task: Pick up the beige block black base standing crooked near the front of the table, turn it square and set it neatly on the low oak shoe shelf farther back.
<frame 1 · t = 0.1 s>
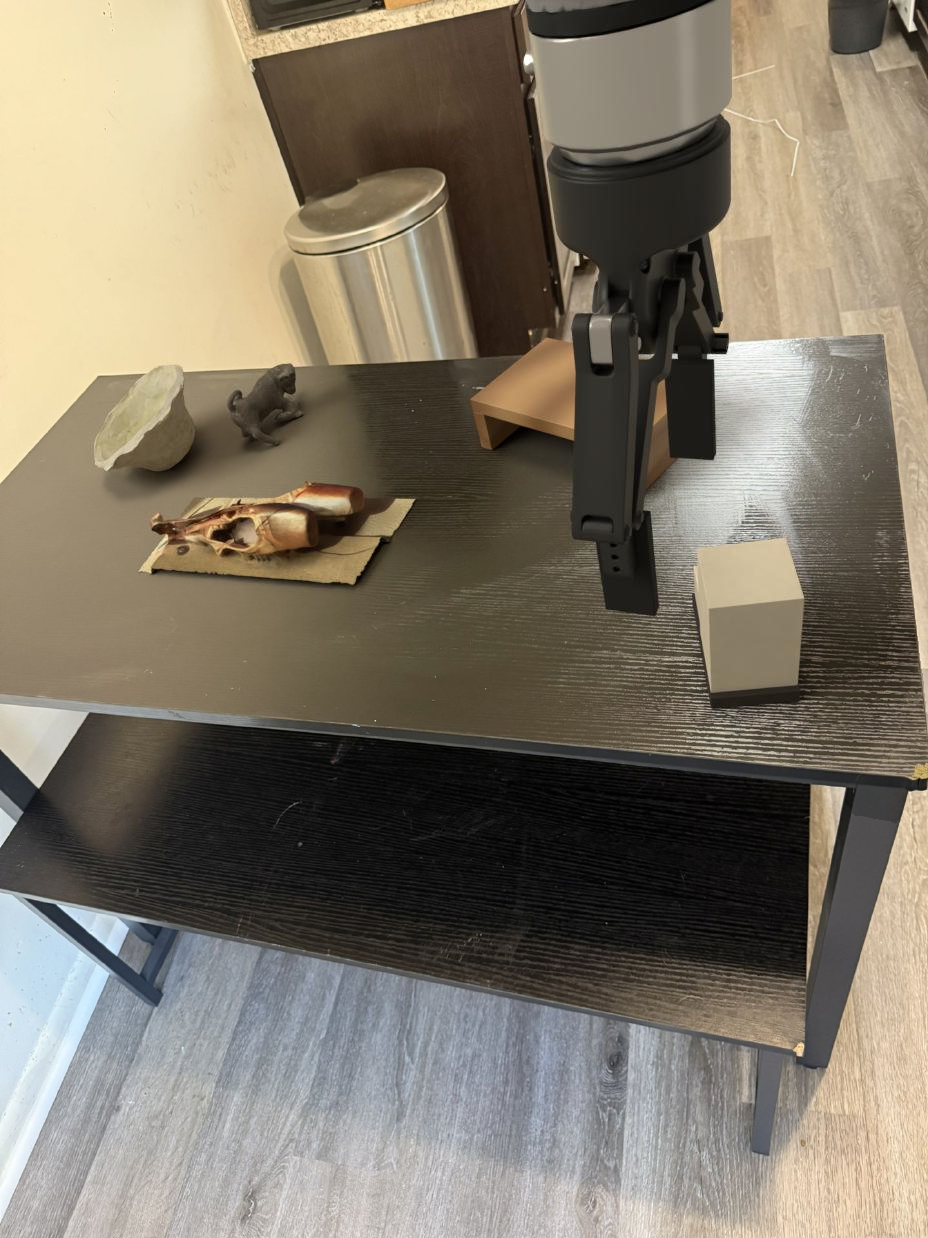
hand: (665, 526, 50), 19 cm above the table, tool pointing down, fingers open, 13 cm apart
dog figurine: (280, 425, 107), on the table
shoe shelf: (592, 436, 90), on the table
beige block black base: (746, 668, 65), on the table
bowl: (164, 462, 107), on the table
ballet pointe shoes: (273, 541, 90), on the table
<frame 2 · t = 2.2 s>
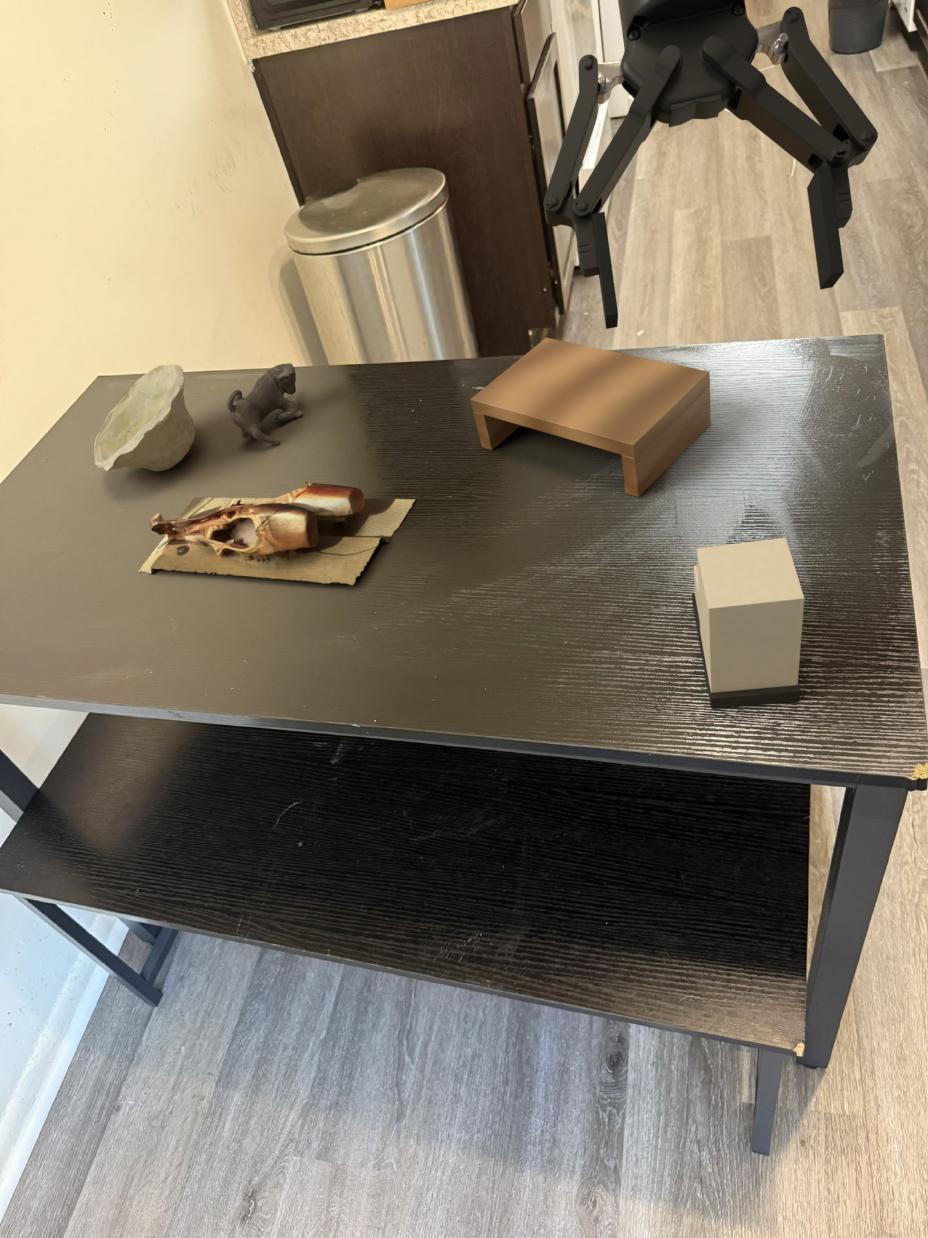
hand: (719, 302, 55), 25 cm above the table, tool tilted 45°, fingers open, 13 cm apart
nothing on the table moved.
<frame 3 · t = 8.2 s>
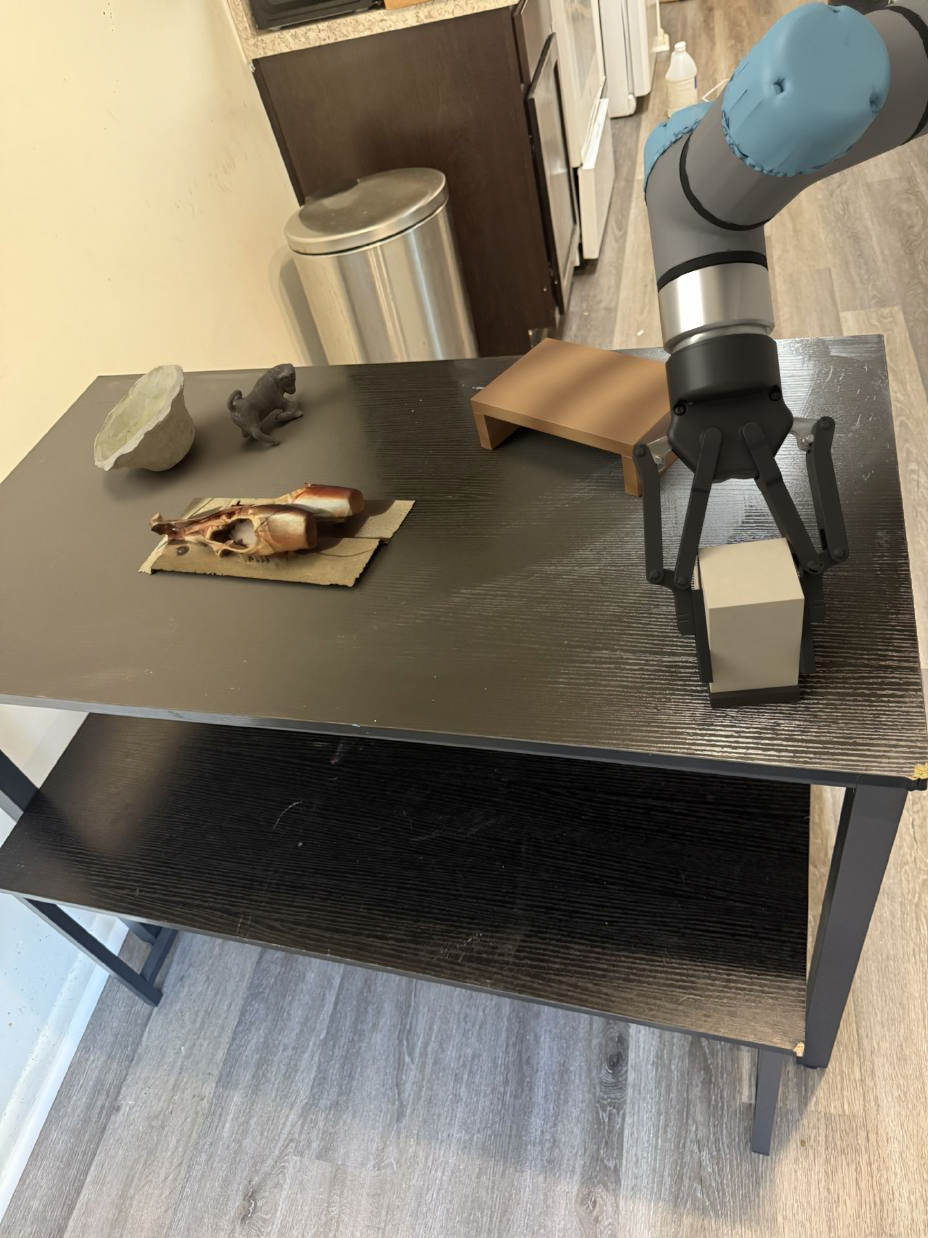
hand: (756, 676, 60), 3 cm above the table, tool tilted 45°, fingers closed on beige block black base, 6 cm apart
beige block black base: (746, 668, 65), on the table, touching gripper
everything else where it was.
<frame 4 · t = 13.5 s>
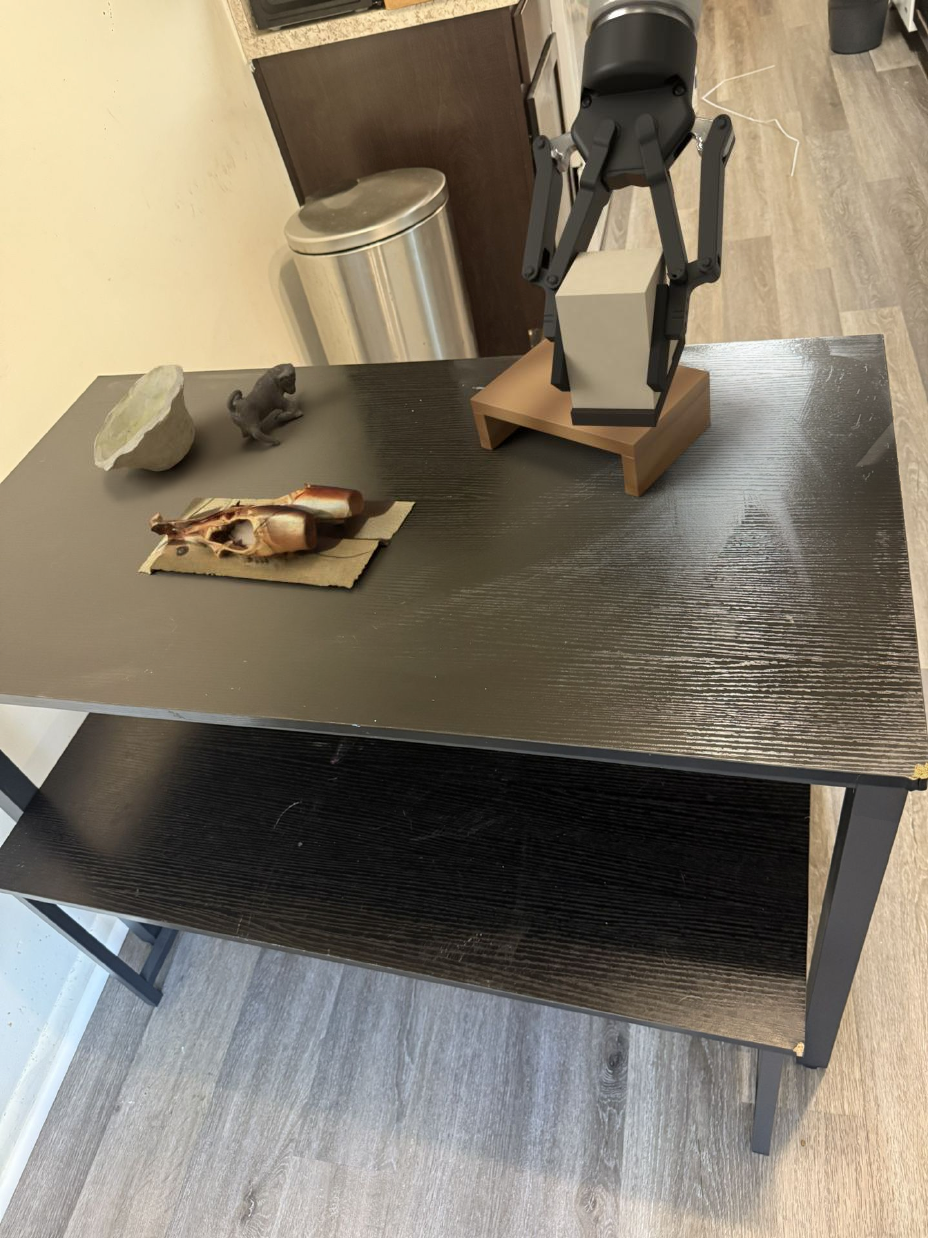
hand: (607, 387, 60), 20 cm above the table, tool tilted 45°, fingers closed on beige block black base, 6 cm apart
beige block black base: (624, 398, 65), point 16 cm above the table, touching gripper
everything else where it was.
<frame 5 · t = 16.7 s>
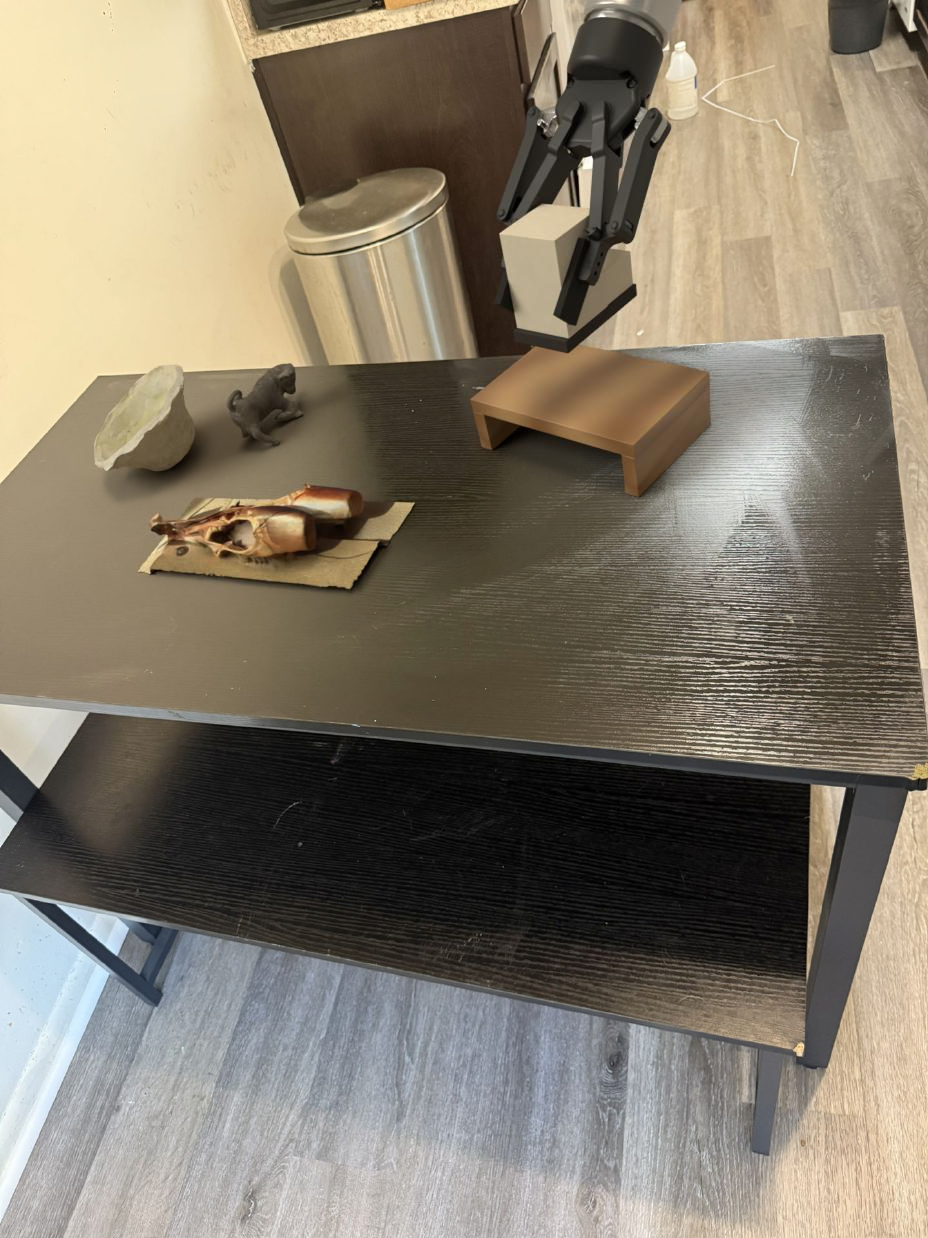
hand: (534, 314, 77), 17 cm above the table, tool tilted 45°, fingers closed on beige block black base, 6 cm apart
beige block black base: (564, 329, 81), point 13 cm above the table, touching gripper
everything else where it was.
when the fingers open (9 cm above the table, at t = 19.0 s): beige block black base stays where it is, resting on shoe shelf.
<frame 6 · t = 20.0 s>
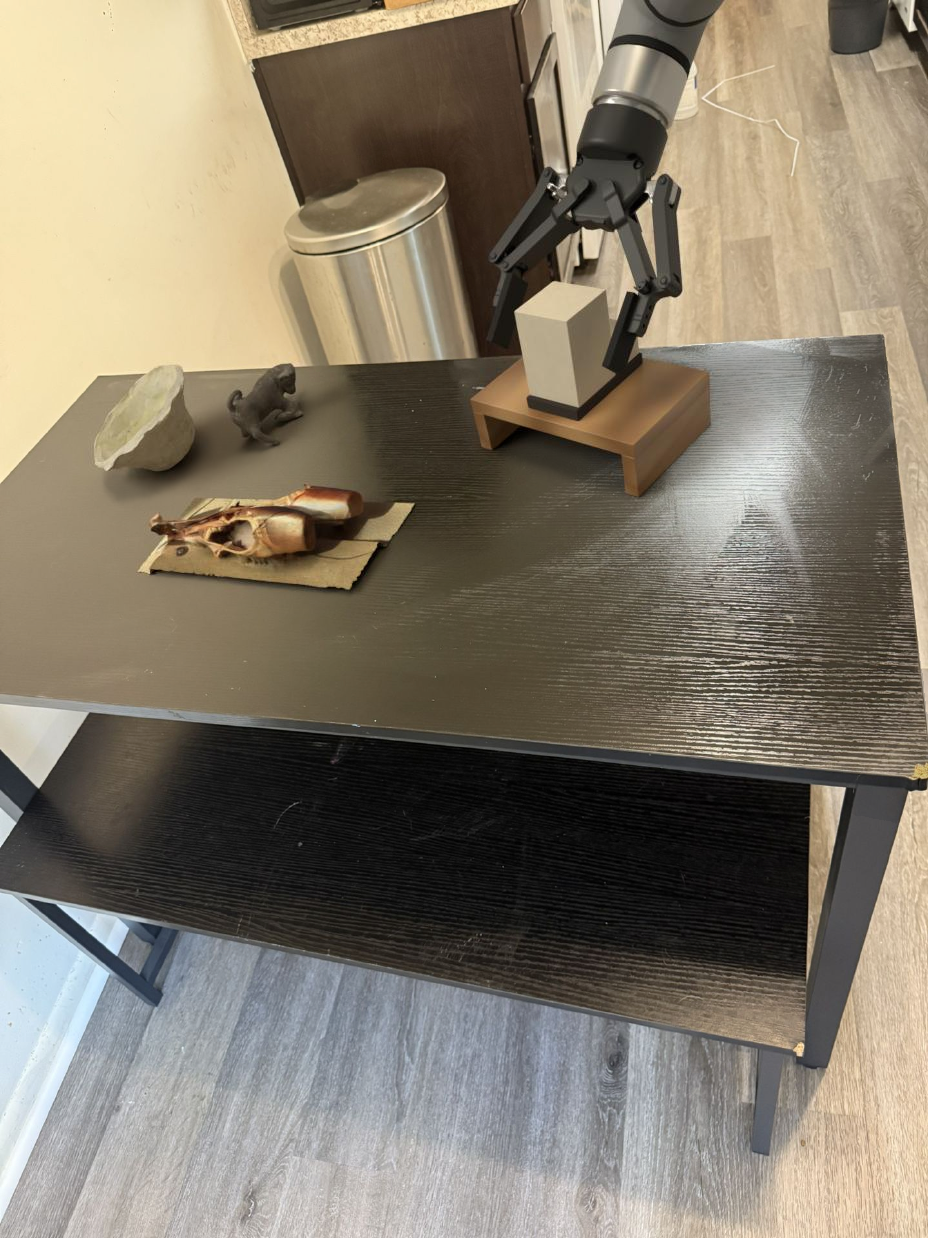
hand: (551, 357, 81), 12 cm above the table, tool tilted 45°, fingers open, 13 cm apart
beige block black base: (574, 395, 85), point 6 cm above the table, touching shoe shelf
everything else where it was.
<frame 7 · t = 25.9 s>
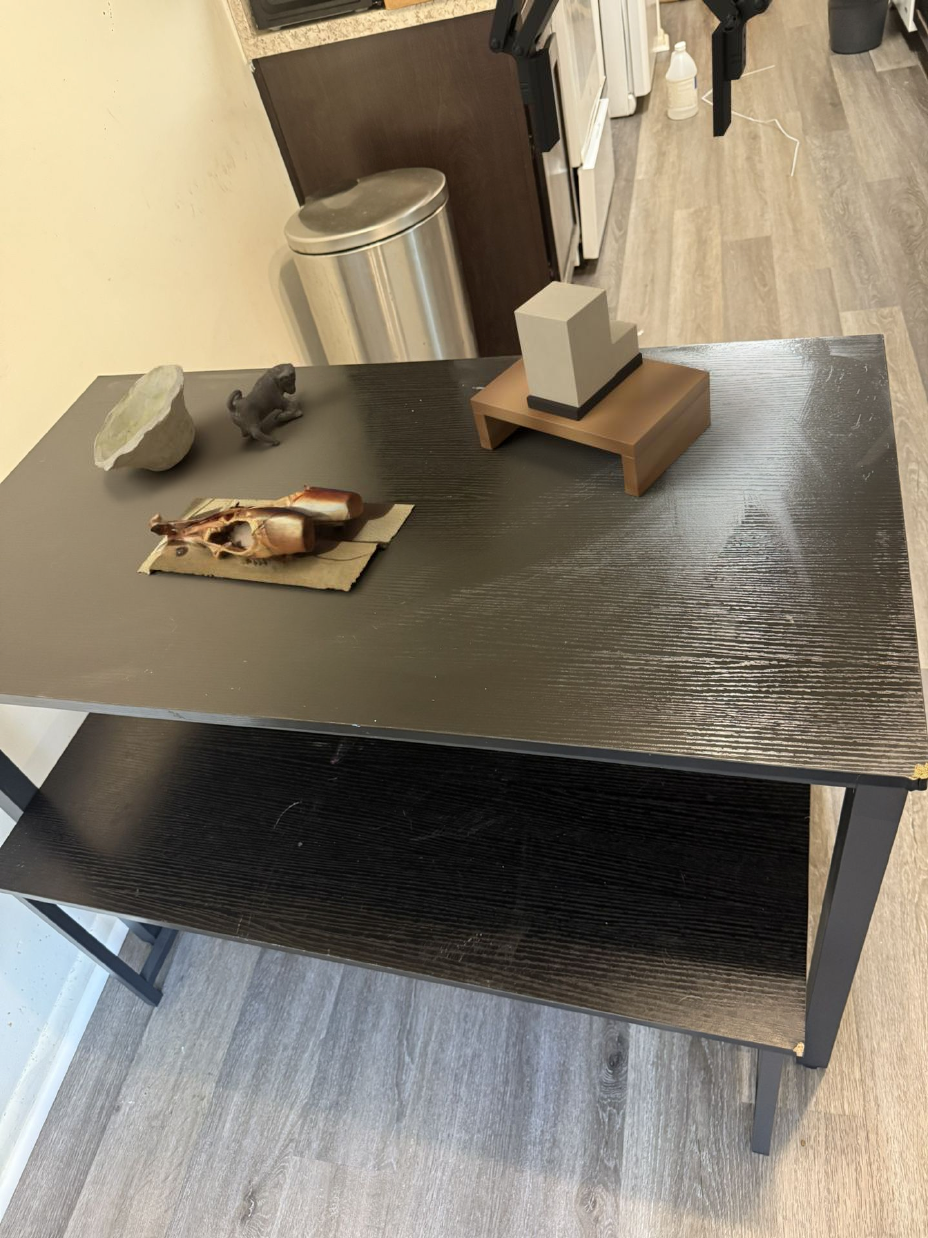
hand: (632, 138, 67), 29 cm above the table, tool pointing down, fingers open, 13 cm apart
nothing on the table moved.
at the end: beige block black base inside the target area on the shoe shelf (1.9 cm from its centre), point 6.0 cm above the shoe shelf's base; beige block black base tilted 0°; the gripper is holding nothing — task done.
